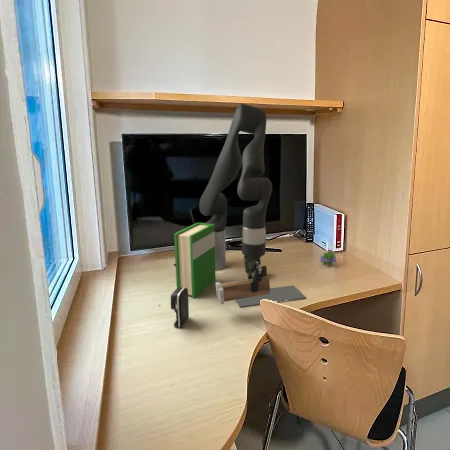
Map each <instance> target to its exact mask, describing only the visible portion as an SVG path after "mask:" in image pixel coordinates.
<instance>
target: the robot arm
mask: <svg viewBox="0 0 450 450" xmlns="http://www.w3.org/2000/svg"><path fill="white" fill-rule="evenodd" d="M266 128H267V114H266V111H265V110H264V109H262V108H260V107H256V106H252V105H249V104H246V103H240V104H239V105H237V108H236V109H235V111H234V114H233V118H232V120H231V124H230V127H229V130H228V133H227V137H226V139H225V142H224V145H223V147H222V149H221V151H220V153H219V156H218V159H217V161H216V164H215V166H214V170H213V172H212V174H211V178H210V179H209V181H208V183H207V186H206V187H205V190H204V191H203V193H202V195H201V196H200V200H199V212H200V213H201V214H202V215H203V216H206V217H211V216H212V217H211V218H210V219H209V220H208V221H206V222H205V223H208V224H214V232H215V271H220V270H223V269H225V268H226V267H227V264H226V262H227V261H226V258H227V257H226V225H227V221H228V220H227V217H228V203H227V197H226V196H225V194H223V193H222V191H224V189H226V188H227V187H228V186H229V185H230V184H231V183H232V182H233V181H234V180H235V179H236V178H237V176H238V174H239V171H240V169H241V167H242V171H241V175H240V178H239V181H238V183H237V195H238V197H239V198H240V199H241V201H258V203H257V204H256V205H253V206H250V207H246V208H245V209H244V210H243V211H242V212H243V213H242V230H241V231H242V233H241V254H242V255H243V258H244V260H243V261H244V268H245V273H246V276H247V279H251V291H252V292H258V282H261V281H262V276H263V272H264V268H261V267H262V260H261V257H263V256H265V254H266V243H267V242H266V241H267V239H266V238H267V233H266V232H267V231H266V215H267V208H268V204H269V201H270V198H271V196H272V191H273V183H272V181H271V180H270V178H268V177H263V175H264V174H265V171H266V170H265V156H264V149H265V147H264V146H265V139H266V132H267V131H266V130H267V129H266ZM240 132H242V133H246V134H250V135H253V136H254V138H253V139H252V140H251V141H250V142H249V143H248V144H247V145H246V147H245V148H244V150H243V151H242V154H241V151H240V146H239V140H238V139H239V138H238V137H239V134H240Z"/></svg>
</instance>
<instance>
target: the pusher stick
mask: <svg viewBox="0 0 450 450" xmlns="http://www.w3.org/2000/svg"><path fill="white" fill-rule="evenodd" d="M270 282H271V281H270V279H269V278H268V277H267V276H266V277H262V281H261V282H258V292H252V291H251V279H248V278H247V279H242V280H236V281H231V282H230V281H229V282H225V283H220V282H219V281H218V282H215V290H216V291H215V293H216V298H217V301H218V302H219V303H220V305H225V302H230V301H236V300H237V299H242V298H248V297H254V296H260V295H265V294H270V288H271V285H270V284H271V283H270Z"/></svg>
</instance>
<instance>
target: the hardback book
mask: <svg viewBox="0 0 450 450" xmlns="http://www.w3.org/2000/svg"><path fill="white" fill-rule="evenodd" d="M173 239H174V241H173V242H174V259H175V261H174V262H175V275H176V276H175V277H176V279H175V281H176V282H175V283H176V289H177V288H187V289H188V296H192V297H191V299H196V298H197V297H198V296H200V295H201V294H202V293H203V292H204V291H205V290H206V289H208V288H209V287H211V285H212V284H213V283H216V270H215V232H214V224H208V223H206V222H196V223H194V224H192V225H190V226H186V227H185V228H183V229H181V230H179V231H177V232H175V233H173Z"/></svg>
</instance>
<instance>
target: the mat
mask: <svg viewBox="0 0 450 450" xmlns="http://www.w3.org/2000/svg"><path fill="white" fill-rule="evenodd" d="M305 298H306V299H307V297H306V296H305V295H304V294H303V293H302V292H301V291H300V290H299V289H298V288H297V287H296V286H295V285H287V286H278V287H270V294H265V295H260V296H254V297H248V298H242V299H237V300H235V302H236V303H237V305H238V306H239V308H246V307H255V306H261V305H260V300H262V299H268V300H272V301H278V303H281V302H280V301H285V300H293V301H295V300H294V299H300V300H306V299H305Z"/></svg>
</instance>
